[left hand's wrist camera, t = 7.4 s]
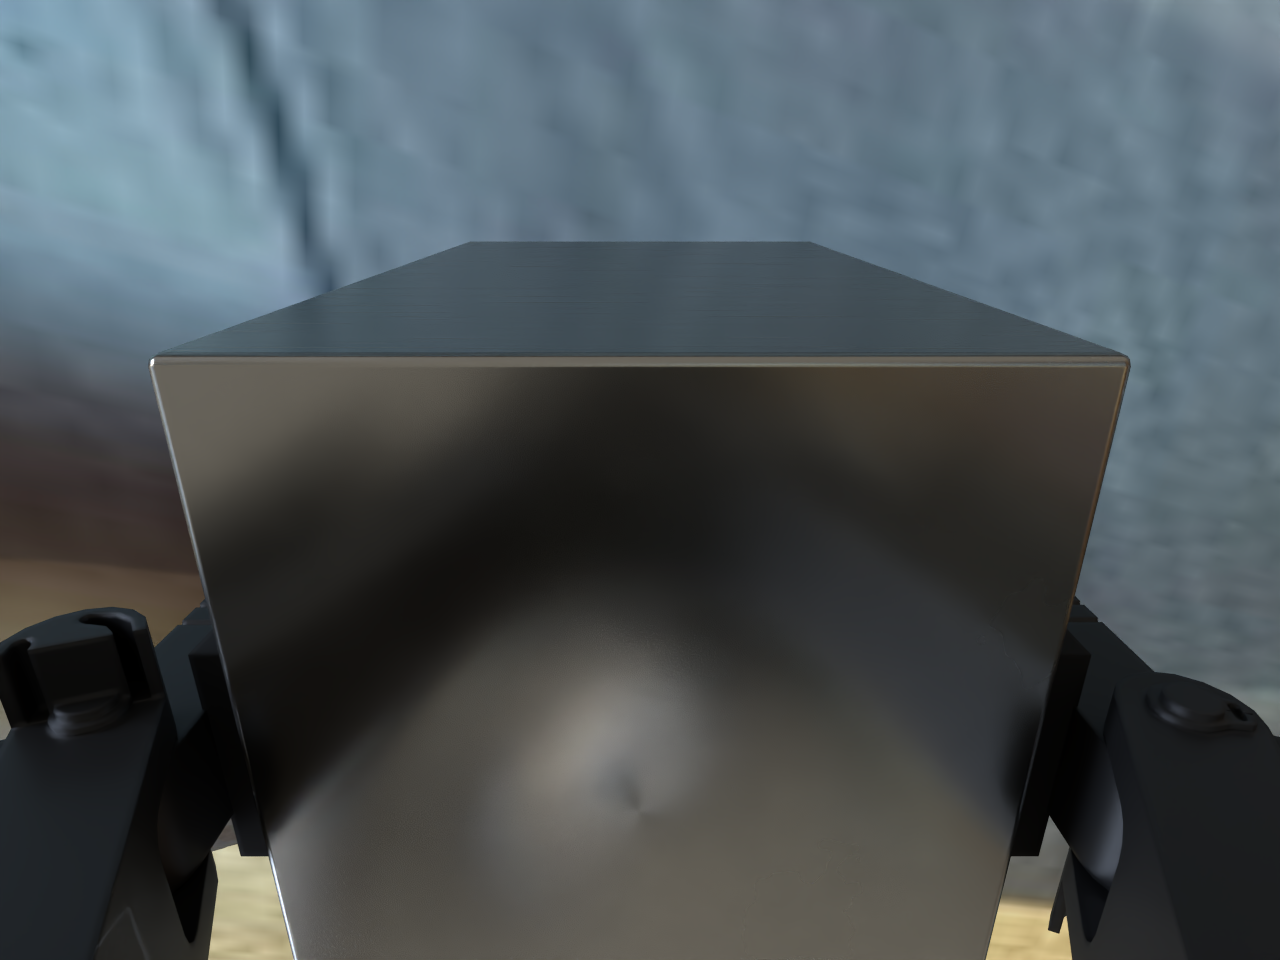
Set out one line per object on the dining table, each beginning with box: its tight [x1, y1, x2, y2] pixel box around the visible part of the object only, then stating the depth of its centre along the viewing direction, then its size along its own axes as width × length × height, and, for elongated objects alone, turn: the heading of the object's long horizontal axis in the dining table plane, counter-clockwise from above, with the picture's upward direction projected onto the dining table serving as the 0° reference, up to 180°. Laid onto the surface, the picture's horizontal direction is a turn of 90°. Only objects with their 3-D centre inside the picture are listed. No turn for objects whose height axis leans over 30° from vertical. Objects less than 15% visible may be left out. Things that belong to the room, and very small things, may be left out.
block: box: [148, 242, 1131, 960], centre depth 13 cm, size 9×8×12 cm
